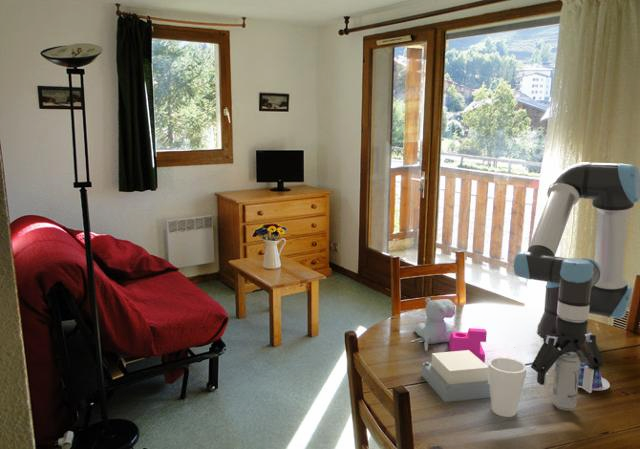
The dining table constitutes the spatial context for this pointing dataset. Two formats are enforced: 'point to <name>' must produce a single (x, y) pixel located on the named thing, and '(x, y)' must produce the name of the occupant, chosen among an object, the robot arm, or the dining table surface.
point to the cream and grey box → (457, 376)
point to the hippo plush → (436, 322)
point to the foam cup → (506, 385)
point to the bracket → (469, 342)
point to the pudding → (598, 382)
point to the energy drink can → (566, 381)
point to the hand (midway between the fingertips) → (564, 392)
